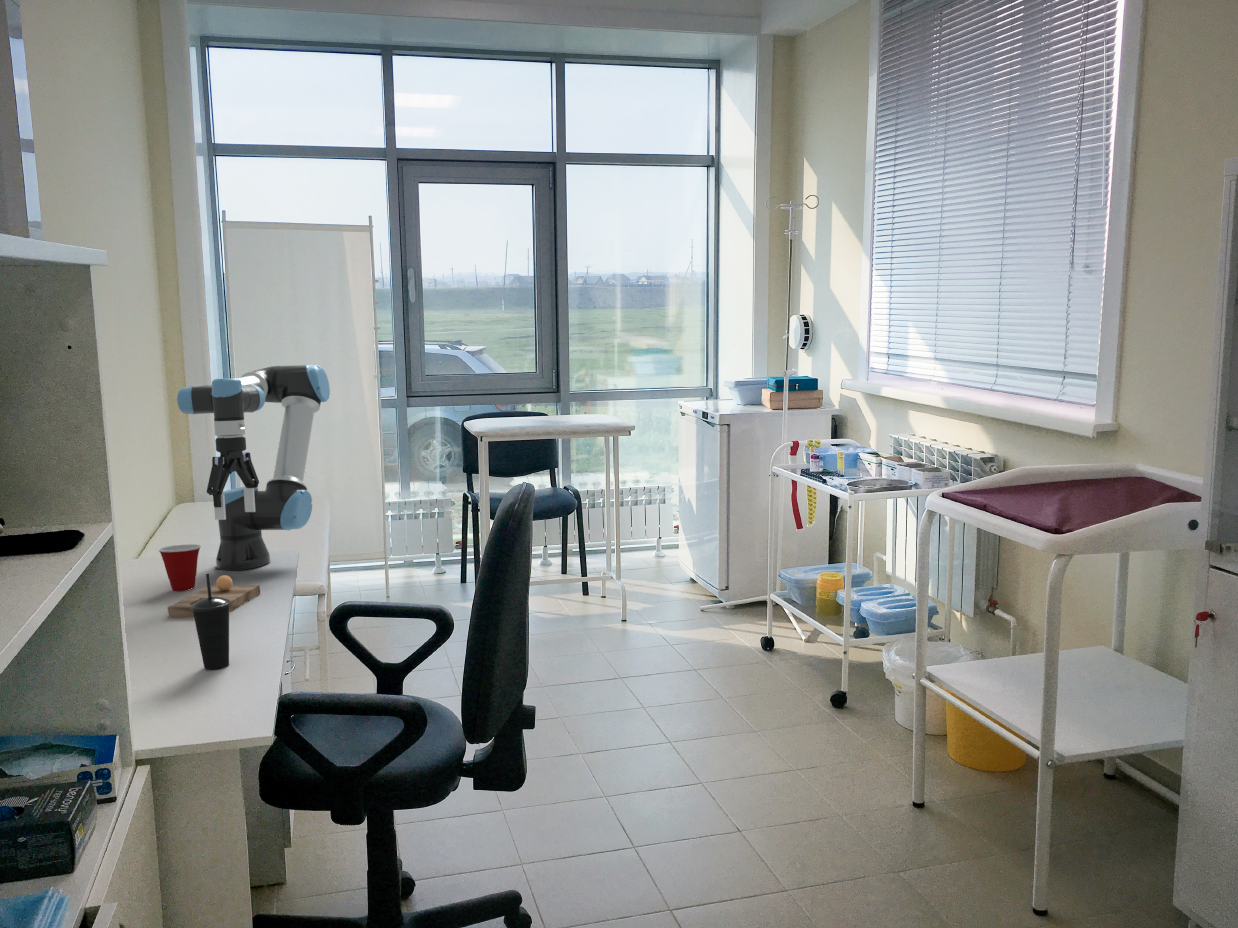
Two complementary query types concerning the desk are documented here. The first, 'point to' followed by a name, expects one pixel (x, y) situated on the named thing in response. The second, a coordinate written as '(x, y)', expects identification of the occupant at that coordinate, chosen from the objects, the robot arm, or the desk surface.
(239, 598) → the board
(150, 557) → the desk surface
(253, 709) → the desk surface
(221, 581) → the ball
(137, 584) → the desk surface
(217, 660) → the drinking cup
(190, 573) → the plastic cup
